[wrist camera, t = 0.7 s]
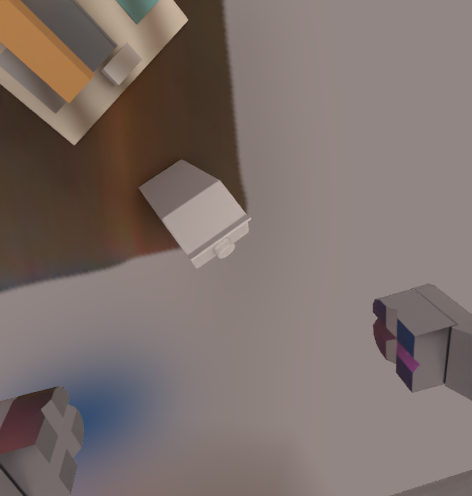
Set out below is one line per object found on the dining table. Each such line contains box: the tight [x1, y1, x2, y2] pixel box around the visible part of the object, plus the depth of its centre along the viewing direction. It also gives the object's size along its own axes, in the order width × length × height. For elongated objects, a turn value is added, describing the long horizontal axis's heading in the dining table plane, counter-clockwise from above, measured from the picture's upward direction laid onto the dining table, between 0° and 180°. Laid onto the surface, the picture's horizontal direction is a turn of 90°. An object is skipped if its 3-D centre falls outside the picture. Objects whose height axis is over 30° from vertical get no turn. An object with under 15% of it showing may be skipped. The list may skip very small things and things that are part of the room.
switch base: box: [0, 0, 188, 145], centre depth 37 cm, size 20×14×7 cm
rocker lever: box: [0, 0, 118, 103], centre depth 30 cm, size 3×7×14 cm, turn 43°
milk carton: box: [139, 160, 251, 268], centre depth 43 cm, size 7×7×19 cm
